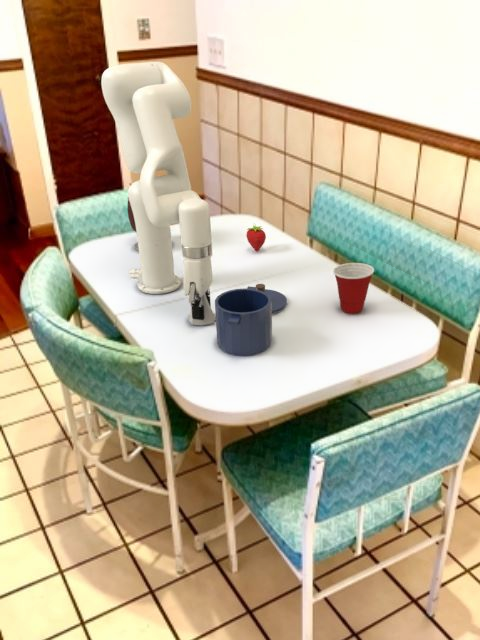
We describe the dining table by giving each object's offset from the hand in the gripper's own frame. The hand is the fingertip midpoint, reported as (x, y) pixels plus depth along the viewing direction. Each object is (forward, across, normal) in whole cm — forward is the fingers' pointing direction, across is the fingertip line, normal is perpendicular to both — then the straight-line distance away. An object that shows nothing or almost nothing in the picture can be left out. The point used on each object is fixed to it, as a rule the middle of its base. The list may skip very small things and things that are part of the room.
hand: (201, 313), depth 168 cm
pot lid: (+1, -12, +13) cm, 18 cm away
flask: (+2, 0, 0) cm, 2 cm away
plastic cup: (+2, -14, +38) cm, 41 cm away
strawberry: (+2, -49, +3) cm, 49 cm away
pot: (+2, +9, +14) cm, 17 cm away
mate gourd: (+2, -47, -33) cm, 57 cm away
